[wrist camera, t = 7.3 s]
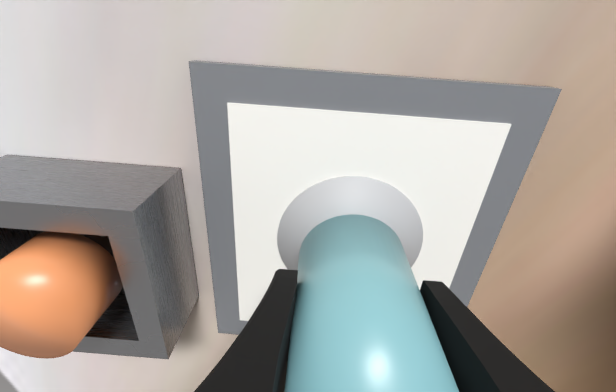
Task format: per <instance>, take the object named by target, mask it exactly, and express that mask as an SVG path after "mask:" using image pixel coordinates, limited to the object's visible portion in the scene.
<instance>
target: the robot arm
mask: <svg viewBox="0 0 616 392" xmlns="http://www.w3.org/2000/svg"><path fill="white" fill-rule="evenodd" d="M297 278H298V270H288V269H278V270H277V271H275V274H274V277H273V279H272V281H271V283H270V285H269V287H268V289H267V291H266V293H265V295H264V296H263V298H262V300H261V302H260V303H259V305H258V307H257V308H256V310H255V311H254V313H253V315H252V316H251V318H250V319H249V321H248V322H247V324H246V325H245V327H244V328H243V330H242V331H241V333H240V334H239V335H238V337H237V338H236V340H235V341H234V342H233V344H232V345H231V347H230V348H229V349H228V351H227V352H226V353H225V355H224V356H223V357H222V359H221V360H220V361H219V362H218V364H217V365H216V366H215V367H214V369H213V370H212V371H211V372H210V374H209V375H208V376H207V377H206V378H205V380H204V381H203V382H202V383H201V384H200V386H199V387H198V388H197V389H196V390H195V391H194V392H284V389H285V381H286V372H287V362H288V353H289V344H290V335H291V327H292V321H293V315H294V309H295V300H296V290H297ZM420 292H421V295H422V297H423V300H424V303H425V305H426V308H427V310H428V313H429V315H430V318H431V321H432V323H433V326H434V328H435V331H436V333H437V336H438V339H439V341H440V344H441V346H442V349H443V351H444V354H445V357H446V359H447V362H448V364H449V367H450V369H451V372H452V375H453V377H454V380H455V382H456V385H457V387H458V390H459V392H554V391H553V390H552V389H551V388H550V387H549V386H548V385H546V384H545V383H544V382H543V381H542V380H541V379H540V378H539V377H537V376H536V375H535V374H534V373H533V372H532V371H531V370H530V369H529V368H528V367H527V366H526V365H524V364H523V363H522V362H521V361H520V360H519V359H518V358H517V357H516V356H515V355H514V354H513V353H512V352H511V351H510V350H509V349H508V348H507V347H505V346H504V345H503V344H502V343H501V342H500V341H499V340H498V339H497V338H496V337H495V336H494V335H493V334H492V333H491V332H490V331H489V330H488V329H487V328H486V327H485V326H484V325H483V323H482V322H481V321H480V320H479V319H478V318H477V317H476V316H475V315H474V314H473V313H472V312H471V311H470V310H469V309H468V308H467V307H466V306H465V305H464V304H463V303H462V302H461V301H460V299H459V298H458V297H457V296H456V295H455V294H454V293H453V292H452V291H451V290H450V289H449V288H448V287H447V286H446V285H445V284H444V283H443V282H440V281H427V280H423V282H422V285H421V288H420Z"/></svg>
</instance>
